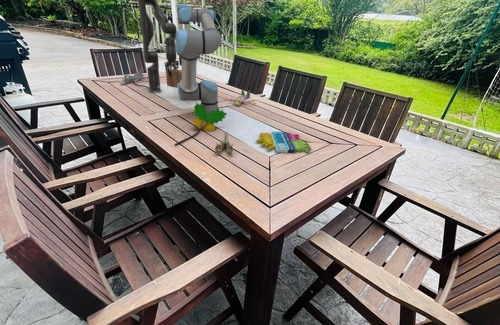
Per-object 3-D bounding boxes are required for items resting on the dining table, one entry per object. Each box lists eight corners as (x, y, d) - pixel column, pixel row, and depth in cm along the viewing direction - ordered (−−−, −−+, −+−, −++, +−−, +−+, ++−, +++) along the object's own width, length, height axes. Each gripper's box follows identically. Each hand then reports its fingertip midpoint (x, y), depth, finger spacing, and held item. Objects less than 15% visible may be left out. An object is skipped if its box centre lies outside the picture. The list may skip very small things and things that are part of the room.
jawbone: (234, 135, 144) (233, 125, 135) (233, 160, 138) (232, 151, 129) (217, 135, 144) (216, 125, 135) (216, 160, 138) (214, 150, 129)
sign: (313, 150, 142) (258, 149, 139) (312, 153, 143) (258, 152, 140) (301, 132, 164) (254, 130, 161) (301, 134, 165) (254, 133, 162)
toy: (261, 91, 228) (254, 99, 202) (261, 99, 231) (253, 108, 205) (231, 87, 233) (220, 95, 207) (230, 95, 236) (219, 104, 210)
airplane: (115, 77, 268) (113, 67, 262) (148, 75, 281) (146, 66, 276) (118, 87, 239) (116, 75, 234) (154, 84, 252) (153, 74, 247)
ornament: (218, 133, 171) (224, 110, 169) (221, 134, 163) (227, 111, 161) (186, 125, 162) (192, 101, 160) (189, 126, 155) (195, 101, 153)
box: (195, 89, 208) (194, 72, 202) (190, 90, 203) (189, 73, 197) (172, 84, 216) (170, 68, 210) (167, 85, 211) (165, 69, 205)
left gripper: (173, 51, 207) (175, 73, 215) (160, 52, 195) (162, 75, 204) (181, 52, 204) (182, 74, 212) (168, 54, 193) (170, 77, 201)
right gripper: (187, 30, 187) (189, 61, 197) (169, 31, 166) (172, 66, 176) (197, 30, 186) (198, 62, 196) (180, 32, 164) (182, 67, 175)
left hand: (172, 75), depth 208 cm, fingers closed on box, 6 cm apart
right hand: (186, 64), depth 186 cm, fingers open, 13 cm apart
